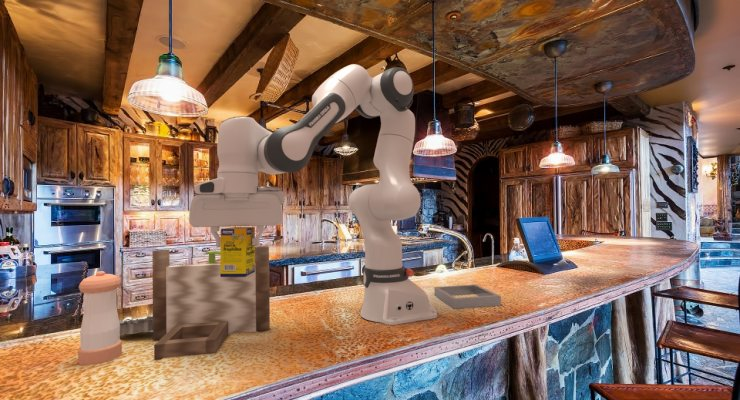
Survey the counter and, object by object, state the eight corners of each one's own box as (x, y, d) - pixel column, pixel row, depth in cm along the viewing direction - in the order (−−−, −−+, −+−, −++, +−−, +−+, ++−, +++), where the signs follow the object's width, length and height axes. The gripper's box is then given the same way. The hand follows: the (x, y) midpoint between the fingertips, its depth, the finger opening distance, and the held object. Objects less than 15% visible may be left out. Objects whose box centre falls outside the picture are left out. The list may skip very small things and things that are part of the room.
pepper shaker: (72, 372, 67) (71, 276, 67) (85, 357, 74) (85, 270, 74) (116, 365, 70) (116, 272, 70) (125, 351, 77) (125, 267, 77)
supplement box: (246, 277, 75) (246, 228, 75) (219, 277, 75) (219, 228, 75) (255, 272, 81) (255, 226, 81) (230, 272, 81) (230, 226, 81)
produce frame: (476, 292, 123) (475, 284, 123) (500, 305, 107) (500, 295, 107) (434, 295, 120) (434, 287, 120) (453, 309, 104) (453, 299, 104)
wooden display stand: (270, 328, 90) (269, 245, 90) (263, 354, 74) (262, 254, 75) (156, 337, 85) (156, 249, 85) (123, 367, 69) (122, 259, 70)
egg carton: (168, 326, 89) (168, 310, 90) (151, 332, 82) (151, 314, 83) (127, 330, 89) (127, 314, 89) (106, 337, 81) (106, 319, 82)
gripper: (284, 187, 83) (285, 243, 83) (195, 187, 80) (195, 246, 79) (283, 185, 77) (283, 246, 77) (186, 185, 73) (186, 249, 73)
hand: (238, 246), depth 78 cm, fingers closed on supplement box, 6 cm apart
